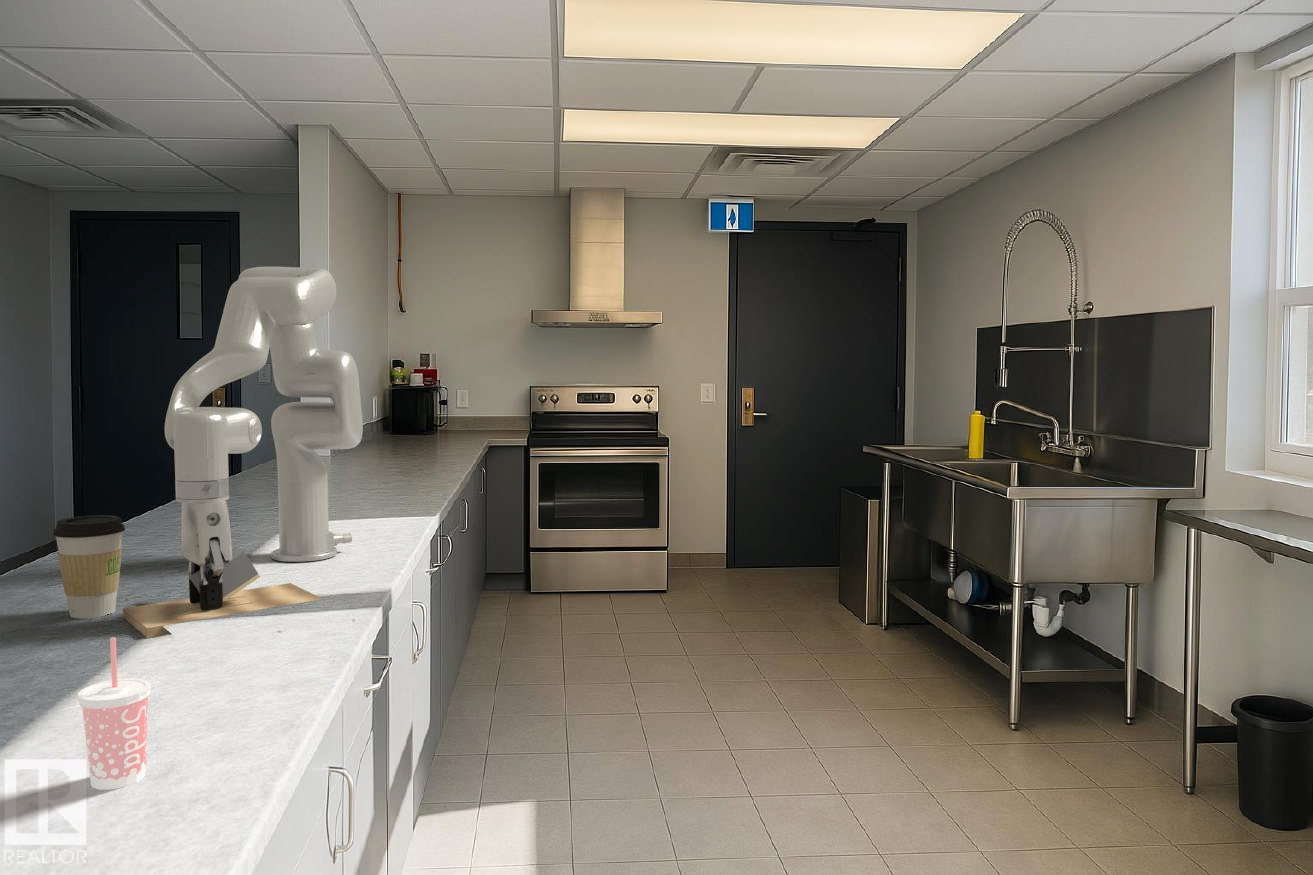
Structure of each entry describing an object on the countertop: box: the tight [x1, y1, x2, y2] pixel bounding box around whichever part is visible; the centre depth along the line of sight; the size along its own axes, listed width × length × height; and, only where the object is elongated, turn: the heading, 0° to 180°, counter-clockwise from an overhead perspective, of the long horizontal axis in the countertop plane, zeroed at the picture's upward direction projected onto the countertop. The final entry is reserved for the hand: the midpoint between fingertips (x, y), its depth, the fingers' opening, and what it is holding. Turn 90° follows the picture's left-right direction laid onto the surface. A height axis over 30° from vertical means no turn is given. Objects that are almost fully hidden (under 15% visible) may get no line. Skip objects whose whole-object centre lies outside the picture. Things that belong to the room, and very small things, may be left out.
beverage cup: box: [77, 636, 152, 791], centre depth 90 cm, size 6×6×14 cm
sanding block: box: [188, 547, 261, 602], centre depth 149 cm, size 8×4×5 cm, turn 132°
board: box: [122, 582, 323, 639], centre depth 150 cm, size 26×14×2 cm, turn 132°
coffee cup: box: [52, 514, 126, 620], centre depth 148 cm, size 10×10×15 cm
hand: (206, 603), depth 148 cm, fingers closed on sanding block, 4 cm apart
